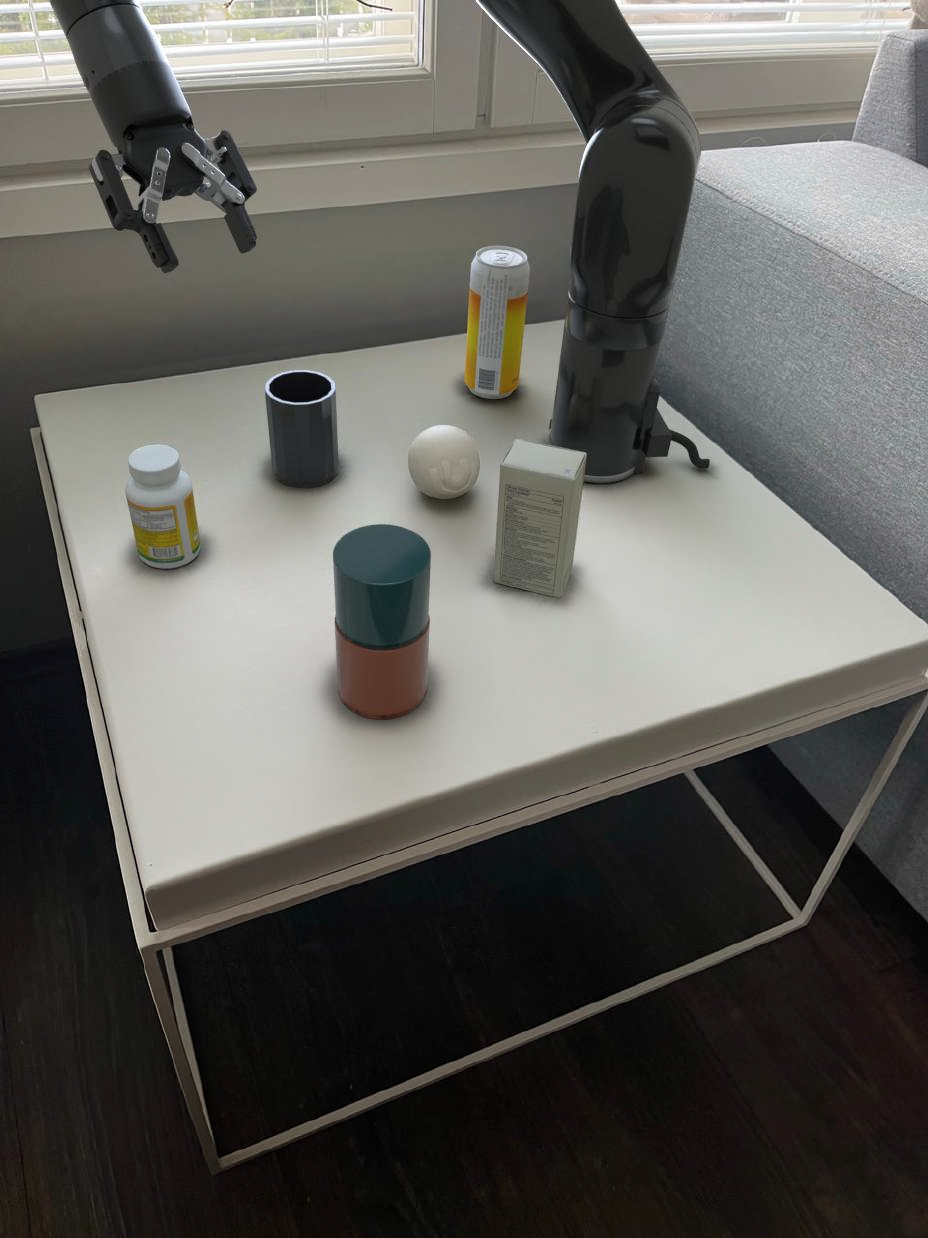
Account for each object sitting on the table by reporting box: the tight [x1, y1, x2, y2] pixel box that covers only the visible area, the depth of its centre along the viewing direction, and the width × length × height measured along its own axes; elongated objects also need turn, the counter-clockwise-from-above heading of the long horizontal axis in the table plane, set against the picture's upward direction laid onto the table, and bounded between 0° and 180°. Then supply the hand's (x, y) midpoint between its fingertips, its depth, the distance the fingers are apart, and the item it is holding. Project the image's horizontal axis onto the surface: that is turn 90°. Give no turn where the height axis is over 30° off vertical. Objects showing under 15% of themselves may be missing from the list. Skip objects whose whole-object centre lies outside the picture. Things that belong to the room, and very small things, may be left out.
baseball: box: [407, 424, 481, 500], centre depth 91 cm, size 7×7×7 cm
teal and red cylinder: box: [332, 523, 432, 720], centre depth 70 cm, size 7×7×13 cm
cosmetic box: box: [492, 438, 587, 598], centre depth 81 cm, size 6×4×12 cm
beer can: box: [463, 245, 531, 400], centre depth 104 cm, size 6×6×15 cm
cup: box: [264, 369, 340, 489], centre depth 92 cm, size 6×6×9 cm
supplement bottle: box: [124, 444, 202, 570], centre depth 82 cm, size 5×5×10 cm
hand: (211, 259), depth 89 cm, fingers open, 8 cm apart
